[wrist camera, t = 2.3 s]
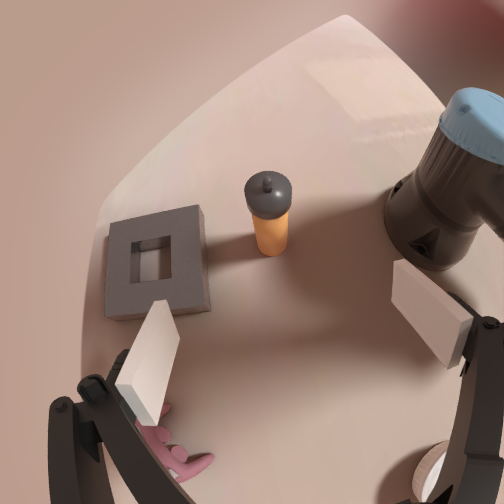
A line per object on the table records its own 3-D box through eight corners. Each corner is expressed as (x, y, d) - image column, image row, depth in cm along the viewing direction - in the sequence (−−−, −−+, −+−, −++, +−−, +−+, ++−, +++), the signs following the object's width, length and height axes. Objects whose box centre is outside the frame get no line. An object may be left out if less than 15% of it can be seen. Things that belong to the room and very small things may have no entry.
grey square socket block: (203, 215, 41) (198, 204, 38) (210, 310, 35) (205, 305, 33) (119, 232, 41) (110, 223, 39) (115, 320, 36) (104, 316, 33)
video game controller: (153, 412, 32) (115, 430, 25) (168, 397, 31) (128, 415, 24) (201, 468, 28) (168, 494, 22) (221, 457, 27) (187, 486, 21)
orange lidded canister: (286, 224, 39) (286, 157, 27) (292, 255, 37) (296, 194, 25) (252, 230, 39) (239, 164, 27) (257, 261, 37) (245, 202, 25)
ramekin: (455, 417, 25) (476, 420, 21) (477, 463, 21) (497, 469, 16) (392, 472, 24) (407, 484, 19) (420, 514, 20) (435, 527, 15)
